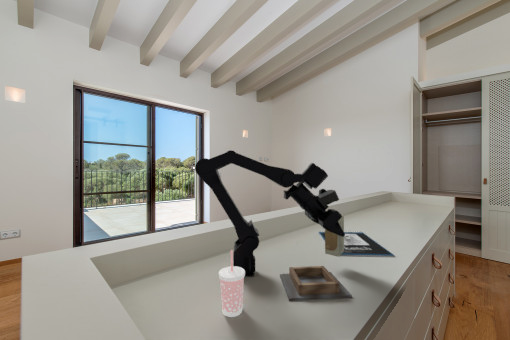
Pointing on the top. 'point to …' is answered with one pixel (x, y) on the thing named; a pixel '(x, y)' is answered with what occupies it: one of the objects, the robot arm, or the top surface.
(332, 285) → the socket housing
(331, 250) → the skincare box
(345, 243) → the sketchbook
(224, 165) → the robot arm
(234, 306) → the beverage cup
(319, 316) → the top surface
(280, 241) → the top surface
